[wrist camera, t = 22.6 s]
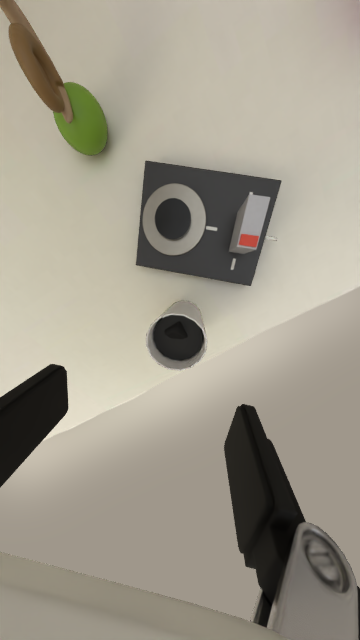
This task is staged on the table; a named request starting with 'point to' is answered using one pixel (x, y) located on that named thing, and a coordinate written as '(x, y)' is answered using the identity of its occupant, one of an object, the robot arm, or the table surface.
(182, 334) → the white cup
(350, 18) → the table surface
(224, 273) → the hob
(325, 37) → the table surface
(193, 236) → the burner
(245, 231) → the hob knob
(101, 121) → the snail figurine
